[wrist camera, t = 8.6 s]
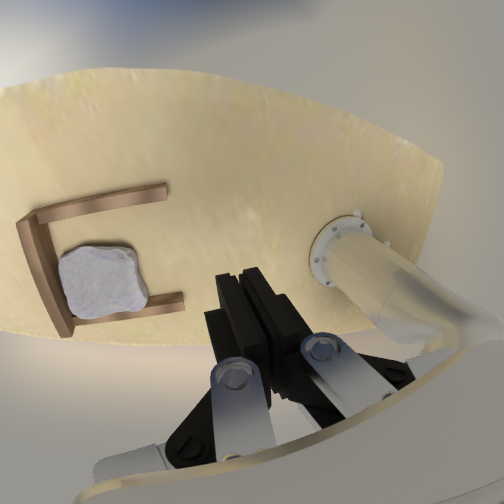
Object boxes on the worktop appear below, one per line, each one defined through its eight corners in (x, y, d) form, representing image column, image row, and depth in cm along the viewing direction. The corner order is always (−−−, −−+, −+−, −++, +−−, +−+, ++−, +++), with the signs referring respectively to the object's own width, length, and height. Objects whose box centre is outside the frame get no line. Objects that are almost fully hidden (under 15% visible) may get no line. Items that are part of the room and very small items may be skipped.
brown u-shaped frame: (165, 183, 31) (165, 191, 26) (183, 300, 38) (187, 321, 34) (32, 210, 26) (15, 223, 21) (68, 316, 33) (60, 338, 29)
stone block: (61, 247, 31) (79, 311, 34) (49, 255, 27) (71, 326, 29) (136, 230, 34) (151, 298, 37) (132, 237, 30) (150, 312, 33)
